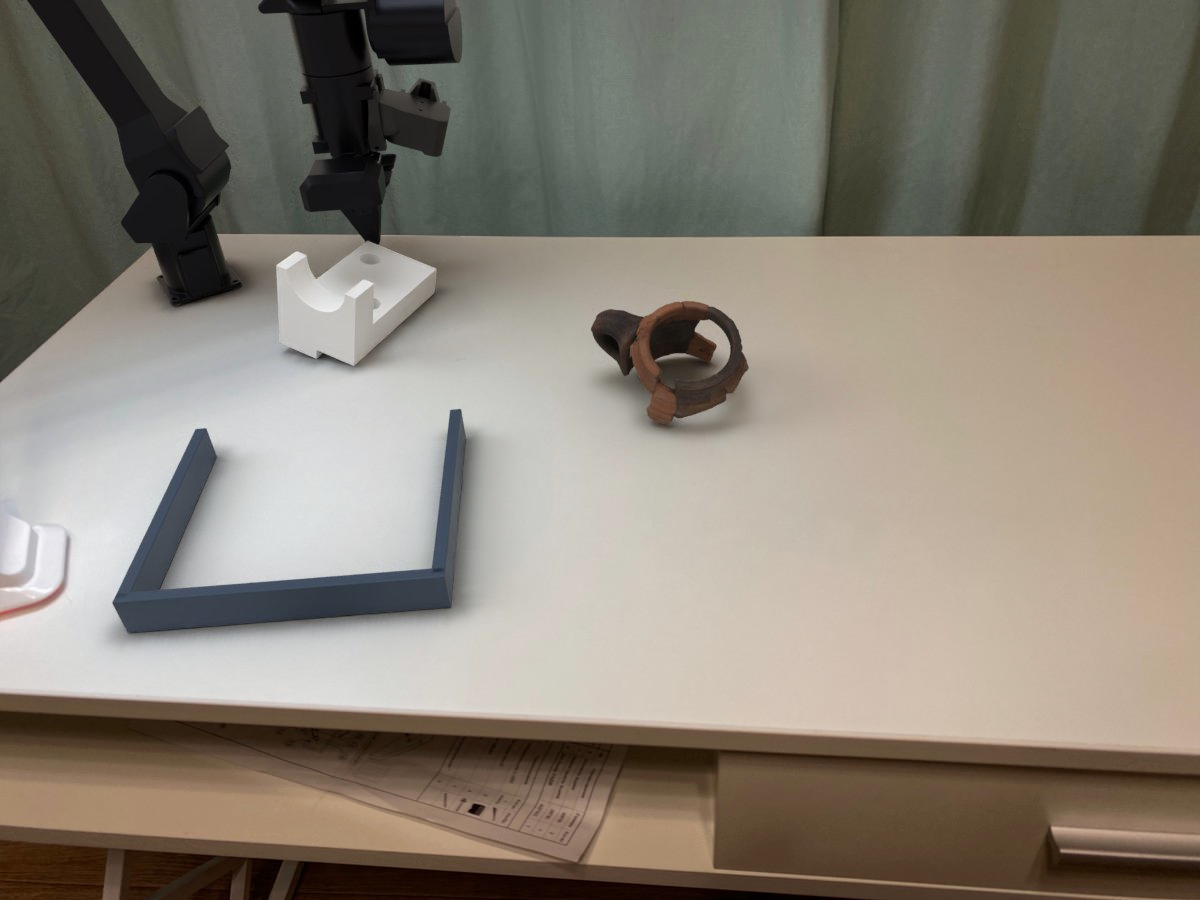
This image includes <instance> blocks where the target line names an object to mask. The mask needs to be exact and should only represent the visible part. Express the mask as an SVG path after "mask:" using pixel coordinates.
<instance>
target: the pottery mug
mask: <svg viewBox="0 0 1200 900" xmlns="http://www.w3.org/2000/svg"><path fill="white" fill-rule="evenodd" d="M701 321H711V322H712V323H713V324H715V325H717V326H718V328H720V329H721V330H722V331H723V333H724V334H725V336H726V338H727V341H728V343H729V345H730V346H729V357H728V360H727V362H726V364H725V365H724V366H723V367H722V368H721V369H720V370H719V371H718V372H717V373H715V374H713V375H711V376H709V377H706V378H702V379H699V380H697V379H696V380H688V379H687V380H685V379H680V378H674V386H675V388H673V387H671V386H670V385H668V384H665V383H664V382H663V381H662V380H661V377H662V372H663V370H662V369H661V367H660V366H659V365H658V363H657V362H656V360H658V359H660V358H663V357H668V356H671V355H674V354H685V355H689V356H692V357H693V358H697V359H700V360H701V361H703V362H705V363H707V364H709V363H711V362H712V359H713V357H714V353H715V351H716V350H717V347H718V346H717V343H716V342H714V341H713V340H710V339H708V338H706V337H704V335H702V334H701V333H699V332H697V331H696V328H697V326H698V325H699V324H700V322H701ZM590 332H591V334H592V337H593V339H594V341H595V343H596V344H597V345H598V346H599V347H600V348H601V349H602V351H604V353H605V354H607V355H608V356H610V357H611V358H612V359H613V360H614V361H615V362H616V363H617V365H618V366H619V368H620V372H621V373H622V375H623V377H628V376H630V373H631V371H632V370H633V369H635V372H636V373H637V375H638V378H639V380H640V382H641V383H642V385H643V387H644V388H645V389H646V390H647V391H648V392H649V393H650V394H651V395H652V396H651V399H650V403H649V405H648V406H647V408H646V409H645V411H646V415H647V417H648V418H649V419H651V420H653V421H655V422H657V423H658V424H661V425H664V426H665V425H667V424H669V423H670V422H672V421H673V418H674V417H675V418H676V419H684V418H687V417H691V416H695V415H697V414H700V413H703V412H705V411H706V412H707V411H709V410H710V409H713V408H716V407H717V406H719V405H721V404H723V403H724V402H726V401H727V394H733V393H734V392H735V391H736V389H737V388H738V386H739V384H740V382H741V380H742V378H743V377H744V375H745V374H746V372H748V371H749V369H750V367H749V364H748V361H747V358H746V356H745V354H744V353H743V344H742V337H741V334H740V331H739V329H738V327H737V324H736V323H735V322H734V320H733V319H732V318H730V317H729V316H728V315H727V314H726V313H725V312H724V311H722V310H721V309H718V308H717V307H715V306H710V305H708V304H706V303H703V302H699V301H694V300H693V301H692V300H690V301H689V300H684V301H683V300H682V301H673V302H670V303H667V304H664V305H662V306H660V307H658V308H657V309H655V310H654V311H653V312H651V313H650V314H648V315H645V316H641V315H636V314H633V313H632V312H631V313H630V312H628V311H626V310H624V309H614V308H609V309H606V310H602V311H601V312H599V313H598V314H597V315H596V316H595V319H594V320H593V323H592V325H591V326H590Z"/></svg>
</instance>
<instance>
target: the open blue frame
mask: <svg viewBox="0 0 1200 900" xmlns="http://www.w3.org/2000/svg"><path fill="white" fill-rule="evenodd" d="M210 437H211V436H210V433H209V431H208V429H207V428H206V427H204V428H203V427H202V428H195V429H194V431H193V434H192V436H191V437H190V439H189V442H188V444H187V446H186V448H185V450H184V453H183V454H182V456H181V459H180V460H179V463H178V465H177V466H176V469H175V471H174V473H173V475H172V477H171V480H170V482H169V484H168V485H167V487H166V490H165V492H164V494H163V496H162V498H161V500H160V501H159V504H158V506H157V509H156V511H155V513H154V515H153V517H152V519H151V522H150V523H149V525H148V527H147V530H146V532H145V533H144V536H143V538H142V539H141V542H140V543H139V546H138V548H137V550H136V552H135V554H134V556H133V559H132V561H131V562H130V565H129V567H128V568H127V571H126V573H125V575H124V578H123V579H122V581H121V583H120V586H119V587H118V590H117V592H116V594H115V596H114V598H113V600H112V602H111V603H112V607H113V608H114V610H115V612H116V614H117V615H118V617H119V619H120V621H121V623H122V626H123V627H124V629H125V631H126V633H128V634H129V633H141V632H142V633H143V632H154V631H156V632H157V631H167V630H168V631H169V630H180V629H182V630H183V629H193V628H205V627H207V628H208V627H218V626H230V625H242V624H255V623H268V622H281V621H294V620H306V619H318V618H331V617H344V616H345V617H346V616H357V615H368V614H380V613H382V614H383V613H395V612H406V611H407V612H408V611H419V610H433V609H444V608H445V609H446V608H451V607H452V600H453V599H452V597H453V588H454V576H455V575H454V574H455V566H456V565H455V564H456V554H457V542H458V530H459V518H460V507H461V497H462V484H463V472H464V462H465V451H466V450H465V449H466V438H467V436H466V429H465V424H464V418H463V412H462V408H455V409H454V408H453V409H450V410H449V417H448V424H447V434H446V441H445V442H446V443H445V452H444V458H443V459H444V460H443V468H442V477H441V486H440V495H439V501H438V502H439V504H438V513H437V520H436V521H437V523H436V531H435V539H434V546H433V556H432V563H431V564H432V565H431V568H420V569H409V570H407V569H406V570H395V571H383V572H369V573H358V574H357V573H356V574H343V575H332V576H330V575H329V576H320V577H306V578H296V579H295V578H294V579H281V580H279V579H278V580H271V581H270V580H267V581H256V582H255V581H254V582H243V583H229V584H228V583H227V584H218V585H217V584H216V585H205V586H192V587H191V586H190V587H180V588H179V587H178V588H166V589H160V588H161V586H162V583H163V581H164V579H165V576H166V574H167V572H168V570H169V567H170V565H171V563H172V560H173V558H174V556H175V553H176V551H177V549H178V547H179V544H180V543H181V539H182V537H183V535H184V533H185V531H186V528H187V525H188V523H189V521H190V518H191V516H192V514H193V512H194V510H195V507H196V505H197V502H198V500H199V498H200V496H201V494H202V491H203V489H204V486H205V484H206V482H207V479H208V478H209V475H210V473H211V470H212V468H213V466H214V463H215V460H216V458H217V456H218V455H217V453H216V450H215V448H214V445H213V442H212V439H211V438H210Z"/></svg>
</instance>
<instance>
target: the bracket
mask: <svg viewBox="0 0 1200 900" xmlns="http://www.w3.org/2000/svg"><path fill="white" fill-rule="evenodd" d="M308 261H309V260H308V255H307V254H305V253H303V252H300V251H297V250H295V252H293V253H292V254H290V255H289V256H288V257H286V258H284V259H283V260H281V261H280V262H279V263H277V264H275V269H276V270H275V271H276V292H277V293H276V294H277V296H276V297H277V315H278V337H279V338H278V339H279V344H281V345H283V346H286V347H288V348H290V349H292V350H295V351H297V352H300V353H302V354H304V355H306V356H309V357H311V358H314V359H316V360H318V358H319V357H321V356H322V355H323V354H325V355H327V356H329V357H332V358H334V359H337V360H339V361H341V362H344V363H346V364H347V365H350V366H353V367H355V366H356V365H357V364H358V363H359V362H361V361H362V359H364V358H365V357H366V356H367V355H368V354H370V352H371V351H373V350H374V349H375V348H376V347H377V346H378V345H379V344H380V343H381V342H382V341H384V340H385V339H386V338H387V337H388V336H389V335H390V334H391V333H393V331H395V330H396V329H397V328H398V327H399V326H400V325H402V323H403V322H404V321H405V320H407V319H408V318H409V317H410V316H411V315H412V314H413V313H414V312H416V310H418V309H419V308H420V307H421V306H422V305H423V304H424V303H426V302H427V300H429V299H430V298H431V297H432V296H433V295H434V294H435V292H436V290H435V289H436V282H437V281H436V280H437V268H436V267H433V266H431V265H429V264H426V263H423V262H421V261H418V260H416V259H414V258H411V257H409V256H406V255H404V254H401V253H399V252H396V251H394V250H392V249H389V248H387V247H385V246H381V245H380V244H379V245H377V244H375V243H372V242H370V241H366V242H365V241H364V243H363V244H361V245H359V246H358V247H357V248H355V249H354V250H353V251H351V252H350V253H349V254H348V255H346V256H344V257H343V258H342V259H341V260H340V261H338V262H337V263H335V264H334V265H333V266H332V267H329V269H328V270H326V271H325V272H324V273H322V274H321V275H319V276H318V277H317V278H316V277H315V275H314V274H313V272H312V271H311V268H310V266H309V262H308Z"/></svg>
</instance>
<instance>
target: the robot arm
mask: <svg viewBox="0 0 1200 900" xmlns="http://www.w3.org/2000/svg"><path fill="white" fill-rule="evenodd" d="M25 1H26V3H27V4H28V5H29V7H30V8H31V9H32V11H33V12H34V13H35V15H36V16H37V18H38V19H39V21H40V22H41V24H42V25H43V26H44V28H45V29H46V30H47V32H48V34H49V35H50V36H51V38H52V39H53V41H54V42H55V43H56V45H57V46H58V48H59V49H60V50H61V51H62V53H63V54H64V56H65V57H66V59H67V60H68V62H69V63H70V64H71V66H72V67H73V69H74V70H75V72H77V74H78V76H79V77H80V78H81V80H82V81H83V82H84V84H85V85H86V86H87V88H88V90H89V91H90V92H91V94H92V95H93V96H94V98H95V99H96V101H97V102H98V104H99V105H100V107H101V108H102V109H103V111H104V112H105V114H106V115H107V116H108V117H109V119H110V121H111V122H112V123H113V124H112V125H113V126H114V128H115V131H116V135H117V140H118V145H119V150H120V154H121V157H122V158H121V159H122V163H123V165H124V168H125V170H126V172H127V173H128V175H129V177H130V179H131V181H132V183H133V185H134V187H135V188H136V190H137V192H138V195H137V196H136V198H135V199H134V201H133V203H132V204H131V206H130V207H129V209H128V210H127V212H126V213H125V214H124V216H123V218H122V219H121V221H120V224H121V226H122V228H123V229H124V230H125V232H126V233H127V234H128V235H129V237H130V238H131V240H132V241H133V242H134V243H135V244H150V245H151V247H152V249H153V252H154V255H155V258H156V261H157V263H158V266H159V269H160V271H161V274H159V275H157V276H156V280H157V283H158V285H159V287H160V288H161V290H162V292H163V293H164V295H165V297H166V299H167V300H168V302H169V303H170V305H171V306H178V305H182V304H185V303H189V302H192V301H195V300H198V299H199V300H200V299H203V298H205V297H210V296H212V295H216V294H219V293H223V292H227V291H230V290H234V289H237V288H240V287H241V286H242V285H243V283H242V280H241V278H240V277H239V276H238V274H237V273H236V272H235V270H234V269H233V268H232V266H231V265H230V264H229V263H228V261H227V259H226V258H225V253H224V251H223V248H222V245H221V242H220V238H219V235H218V232H217V229H216V225H215V222H214V219H213V216H212V214H211V212H212V211H213V210H214V209H215V208H216V207H218V206H219V205H220V204H221V197H222V191H223V190H224V188H225V187H226V186H227V184H228V183H229V182H230V176H231V170H232V163H231V160H230V158H229V155H228V153H227V152H226V150H227V149H229V147H230V144H229V143H228V142H227V141H226V140H224V139H223V137H221V136H220V135H219V134H218V132H217V131H216V129H215V128H214V126H213V124H212V122H211V119H210V118H209V116H208V113H207V112H206V111H205V109H204V108H203V107H202V106H201V105H197V106H195V107H194V108H193V109H191V110H190V111H187V110H185V109H184V108H183V107H181V106H180V105H178V104H177V103H175V102H174V101H173V100H171V99H170V98H169V97H168V96H167V95H166V94H165V93H164V91H163V90H162V89H161V87H160V86H159V85H158V83H157V81H156V80H155V79H154V77H153V76H152V74H151V73H150V71H149V69H148V68H147V67H146V65H145V63H144V61H142V59H141V58H140V56H139V55H138V53H137V52H136V50H135V49H134V46H132V44H131V42H130V41H129V40H128V38H127V37H126V35H125V33H124V32H123V30H122V29H121V28H120V26H119V24H118V23H117V22H116V20H115V18H114V17H113V15H112V14H111V13H110V11H109V10H108V8H107V7H106V5H105V4H104V2H103V1H102V0H25ZM257 10H258V12H260V14H262V15H271V14H287V18H288V22H289V26H290V30H291V34H292V39H293V42H294V48H295V51H296V52H295V53H296V55H297V59H298V64H299V69H300V73H301V75H302V81H303V84H302V86H301V88H300V90H299V96H300V99H301V103H302V105H308V106H309V112H310V115H311V120H312V124H313V128H314V132H315V134H314V137H313V139H312V140H311V145H312V149H313V150H312V151H313V154H314V155H321V154H322V155H323V154H330V158H325V159H324V158H323V159H315V160H313V162H312V164H311V165H310V166H309V168H308V169H307V170H306V172H305V175H304V176H303V178H302V180H301V183H300V185H299V187H298V189H299V193H300V197H301V200H302V204H303V209H304V211H307V212H309V213H317V212H318V213H319V212H330V211H331V212H332V211H340V212H341V213H342V215H344V217H345V218H346V219H347V220H348V222H349V223H350V225H352V227H353V228H354V229H355V230H356V232H357V233H358V234H359V236H360V237H361V238H362V239H363V241H364V243H365V242H366V241H370V242H372V243H375V244H377V245H379V246H380V244H381V241H382V208H383V207H382V206H383V203H384V201H385V197H386V193H387V187H389V186H390V183H391V180H392V176H393V172H394V171H393V169H394V167H395V165H396V160H397V157H398V156H397V154H395V153H381V152H385V151H387V149H388V144H387V142H388V143H390V144H393V145H396V146H399V147H403V148H406V149H410V150H415V151H418V152H421V153H423V154H424V155H425V156H428V157H433V158H438V157H441V156H442V154H443V150H444V144H445V139H446V135H447V130H448V125H449V120H450V115H451V107H450V106H449V105H448V101H446V100H441V99H440V96H439V92H438V88H437V85H436V82H434V81H431V80H428V79H425V78H421V77H419V78H418V79H417V80H416V81H415V82H414V83H413V85H412V86H411V87H410V89H409V90H408V91H407V92H406V89H403V88H400V91H397V90H392V89H388V88H386V87H385V82H384V81H385V80H384V77H383V76H384V75H383V73H379V69H378V68H374V65H373V61H372V56H371V55H372V54H371V50H372V51H373V53H375V55H376V57H377V59H378V60H384V61H385V62H386V64H387V65H388V66H389V67H393V66H394V67H396V66H417V65H419V66H420V65H443V64H444V65H445V64H447V65H448V64H459V63H461V61H462V55H463V25H462V15H461V8H460V6H458V5H457V0H261V1H260V2H259V4H258V5H257ZM363 12H364V13H363ZM370 48H371V49H370Z"/></svg>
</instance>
